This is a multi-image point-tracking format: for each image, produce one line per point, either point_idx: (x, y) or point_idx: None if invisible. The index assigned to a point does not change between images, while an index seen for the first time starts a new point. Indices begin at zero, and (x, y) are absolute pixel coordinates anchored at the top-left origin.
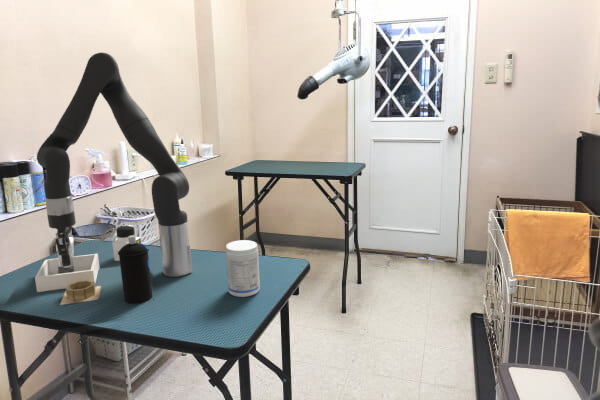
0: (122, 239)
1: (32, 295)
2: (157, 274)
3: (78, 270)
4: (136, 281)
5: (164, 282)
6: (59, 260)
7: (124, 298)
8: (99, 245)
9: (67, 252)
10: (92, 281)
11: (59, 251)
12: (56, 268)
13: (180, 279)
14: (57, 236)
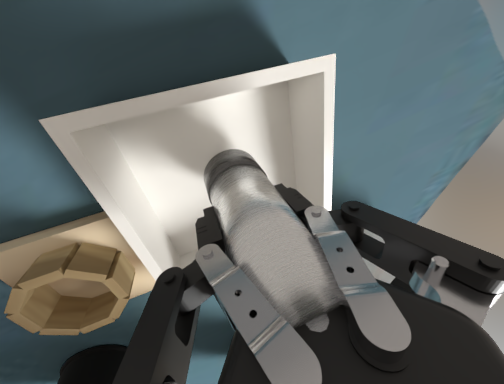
0: (385, 279)
1: (97, 75)
2: None
3: (295, 169)
4: None
5: (207, 345)
6: (221, 200)
7: (67, 377)
8: (469, 133)
9: (178, 315)
10: (116, 316)
11: (149, 310)
12: (299, 106)
13: (219, 355)
14: (266, 377)
